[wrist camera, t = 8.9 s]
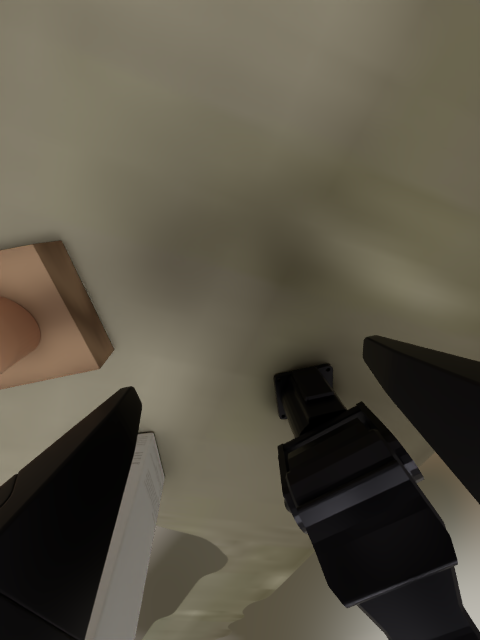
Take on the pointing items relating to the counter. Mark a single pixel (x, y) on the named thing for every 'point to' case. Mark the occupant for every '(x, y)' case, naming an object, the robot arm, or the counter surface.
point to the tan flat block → (52, 314)
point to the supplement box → (129, 548)
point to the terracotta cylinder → (16, 333)
